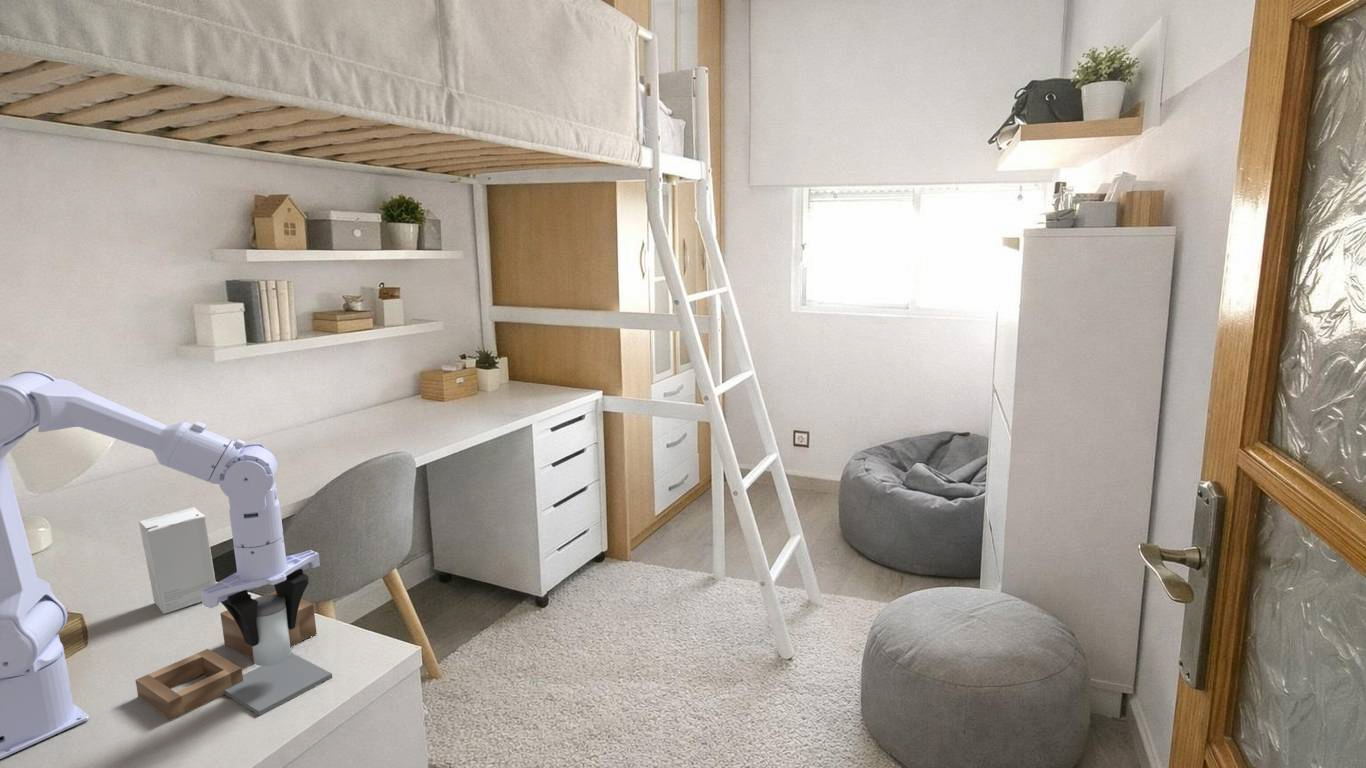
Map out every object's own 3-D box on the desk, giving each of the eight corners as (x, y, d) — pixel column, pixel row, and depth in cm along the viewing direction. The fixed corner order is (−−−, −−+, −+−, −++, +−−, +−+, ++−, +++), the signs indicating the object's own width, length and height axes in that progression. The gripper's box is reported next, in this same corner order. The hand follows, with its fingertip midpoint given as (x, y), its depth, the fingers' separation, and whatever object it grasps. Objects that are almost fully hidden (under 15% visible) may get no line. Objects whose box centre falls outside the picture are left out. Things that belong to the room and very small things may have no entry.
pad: (259, 715, 97) (258, 711, 97) (218, 690, 102) (218, 686, 102) (332, 677, 105) (331, 673, 105) (291, 655, 111) (290, 652, 110)
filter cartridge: (266, 669, 100) (260, 612, 99) (246, 660, 102) (240, 604, 101) (297, 653, 104) (292, 598, 102) (278, 645, 106) (272, 591, 104)
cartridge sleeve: (171, 720, 96) (168, 702, 96) (138, 696, 101) (135, 679, 101) (243, 684, 104) (241, 668, 103) (210, 664, 108) (207, 648, 108)
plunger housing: (257, 662, 109) (253, 629, 108) (224, 644, 114) (220, 613, 113) (316, 634, 116) (313, 604, 115) (283, 618, 121) (280, 589, 120)
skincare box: (208, 587, 132) (196, 505, 129) (219, 598, 128) (208, 514, 125) (150, 604, 126) (137, 519, 123) (160, 616, 122) (147, 528, 119)
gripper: (216, 566, 92) (230, 669, 94) (328, 527, 103) (338, 619, 106) (187, 553, 95) (201, 653, 98) (298, 517, 107) (308, 606, 110)
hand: (270, 634), depth 102 cm, fingers closed on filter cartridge, 4 cm apart
